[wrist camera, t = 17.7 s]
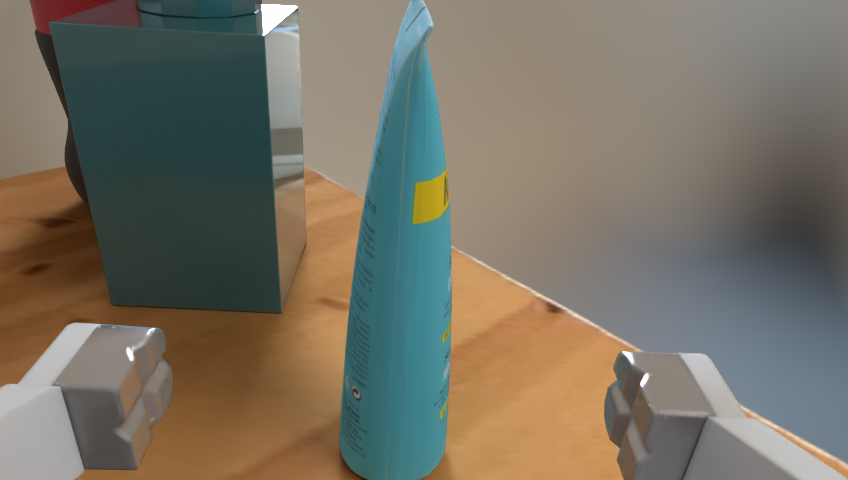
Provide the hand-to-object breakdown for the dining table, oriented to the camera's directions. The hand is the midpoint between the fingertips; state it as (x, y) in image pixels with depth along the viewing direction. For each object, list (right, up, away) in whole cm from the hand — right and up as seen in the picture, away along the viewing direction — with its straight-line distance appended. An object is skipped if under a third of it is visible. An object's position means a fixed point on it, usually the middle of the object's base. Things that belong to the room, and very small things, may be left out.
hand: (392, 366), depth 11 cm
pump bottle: (-13, 0, +29) cm, 32 cm away
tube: (-1, -7, +17) cm, 19 cm away
